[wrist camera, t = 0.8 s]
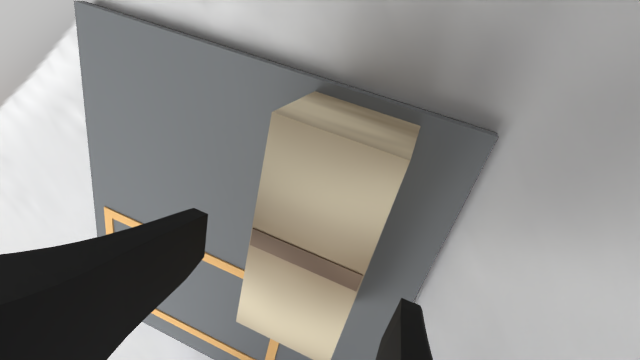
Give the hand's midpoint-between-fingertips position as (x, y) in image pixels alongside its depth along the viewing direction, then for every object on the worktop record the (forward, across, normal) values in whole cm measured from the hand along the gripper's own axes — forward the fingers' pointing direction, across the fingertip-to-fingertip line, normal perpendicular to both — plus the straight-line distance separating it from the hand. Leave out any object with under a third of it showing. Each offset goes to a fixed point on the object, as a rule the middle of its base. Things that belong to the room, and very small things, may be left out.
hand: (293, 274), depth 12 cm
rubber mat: (+6, +5, +5) cm, 9 cm away
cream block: (+5, 0, 0) cm, 5 cm away
